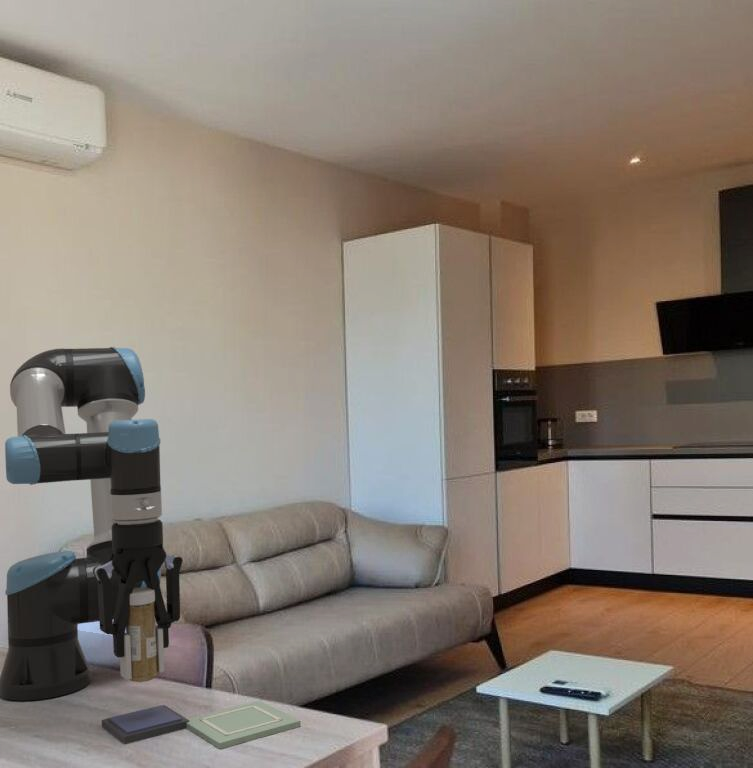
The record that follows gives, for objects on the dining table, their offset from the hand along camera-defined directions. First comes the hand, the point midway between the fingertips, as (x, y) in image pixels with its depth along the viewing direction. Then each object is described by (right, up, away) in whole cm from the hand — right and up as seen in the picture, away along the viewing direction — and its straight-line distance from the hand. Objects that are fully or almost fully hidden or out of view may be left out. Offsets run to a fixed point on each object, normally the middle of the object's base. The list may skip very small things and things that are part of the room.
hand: (142, 673), depth 134 cm
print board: (+15, -7, -3) cm, 17 cm away
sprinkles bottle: (0, -1, 0) cm, 1 cm away
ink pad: (+1, -8, -1) cm, 8 cm away
